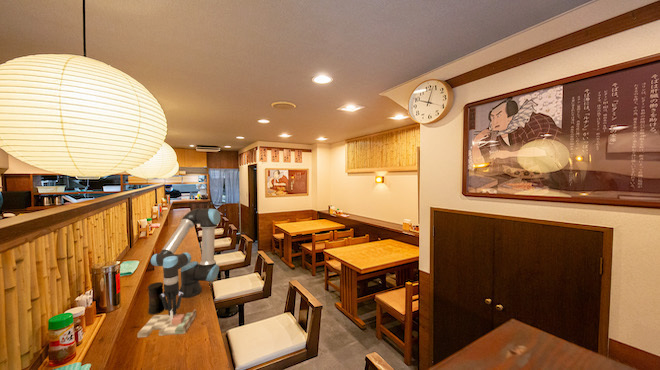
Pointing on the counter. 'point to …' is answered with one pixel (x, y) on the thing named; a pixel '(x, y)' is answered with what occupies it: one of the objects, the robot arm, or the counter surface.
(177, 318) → the block
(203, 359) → the counter surface
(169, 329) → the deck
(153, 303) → the container
